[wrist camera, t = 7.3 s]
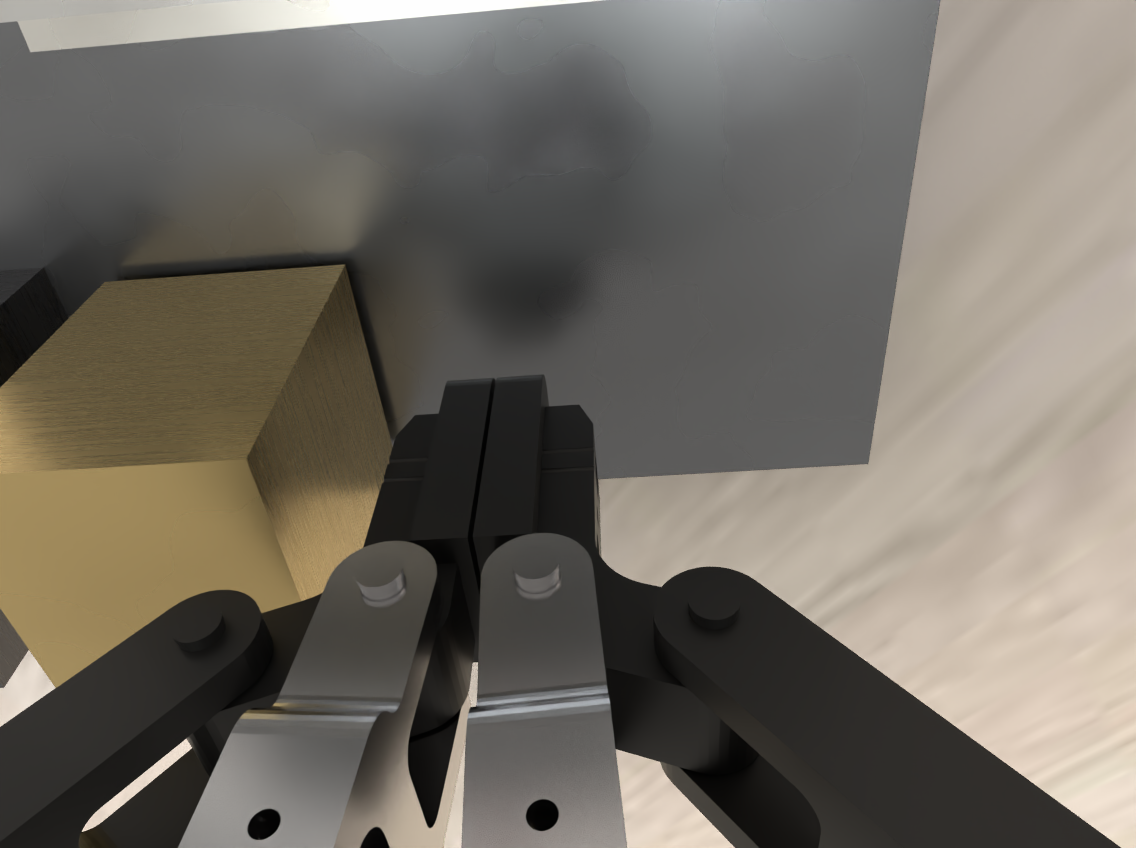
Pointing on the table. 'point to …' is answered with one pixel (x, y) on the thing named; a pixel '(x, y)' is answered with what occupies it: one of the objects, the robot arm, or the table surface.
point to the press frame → (497, 196)
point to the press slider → (185, 455)
